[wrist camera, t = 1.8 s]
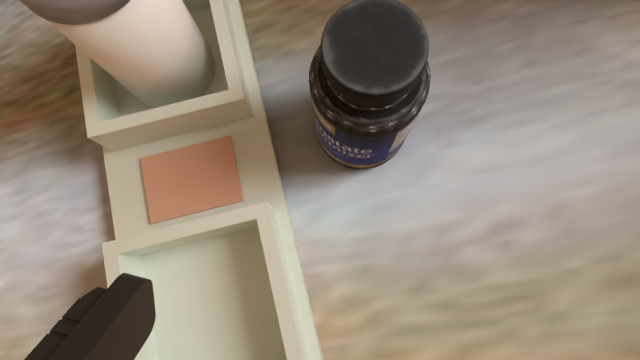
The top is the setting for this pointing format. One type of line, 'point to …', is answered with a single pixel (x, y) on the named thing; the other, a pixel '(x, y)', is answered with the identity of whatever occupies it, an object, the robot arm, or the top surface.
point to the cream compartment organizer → (190, 176)
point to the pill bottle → (369, 81)
